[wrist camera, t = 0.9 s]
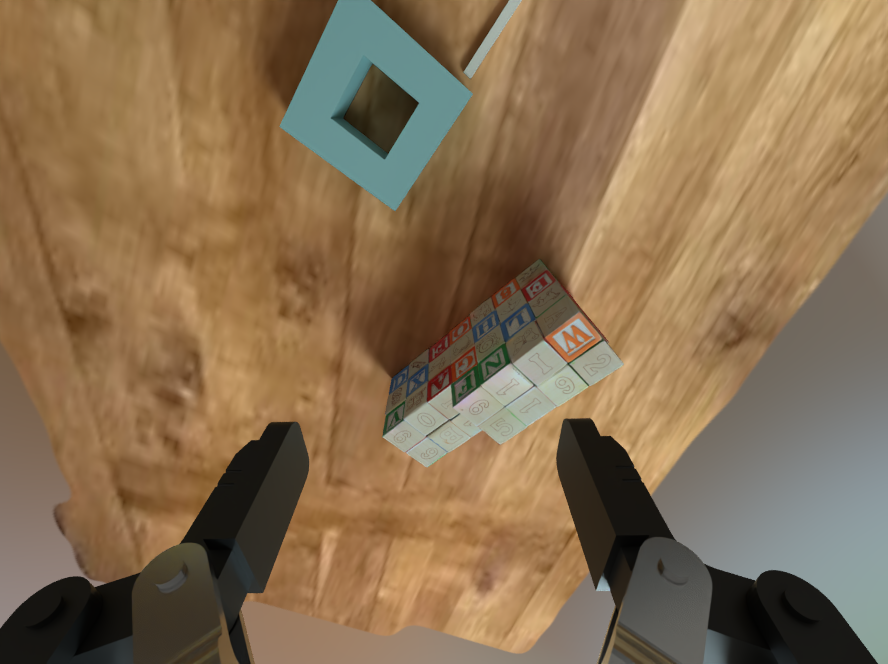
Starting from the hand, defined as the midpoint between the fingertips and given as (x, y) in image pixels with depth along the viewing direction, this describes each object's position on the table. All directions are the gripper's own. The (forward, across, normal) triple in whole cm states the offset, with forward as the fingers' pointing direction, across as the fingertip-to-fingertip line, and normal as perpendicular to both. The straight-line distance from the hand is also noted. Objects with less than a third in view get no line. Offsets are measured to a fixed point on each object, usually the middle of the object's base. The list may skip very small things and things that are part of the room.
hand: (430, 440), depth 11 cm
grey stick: (+27, -6, -16) cm, 32 cm away
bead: (+27, +4, -9) cm, 29 cm away
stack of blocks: (+27, -4, +13) cm, 30 cm away
